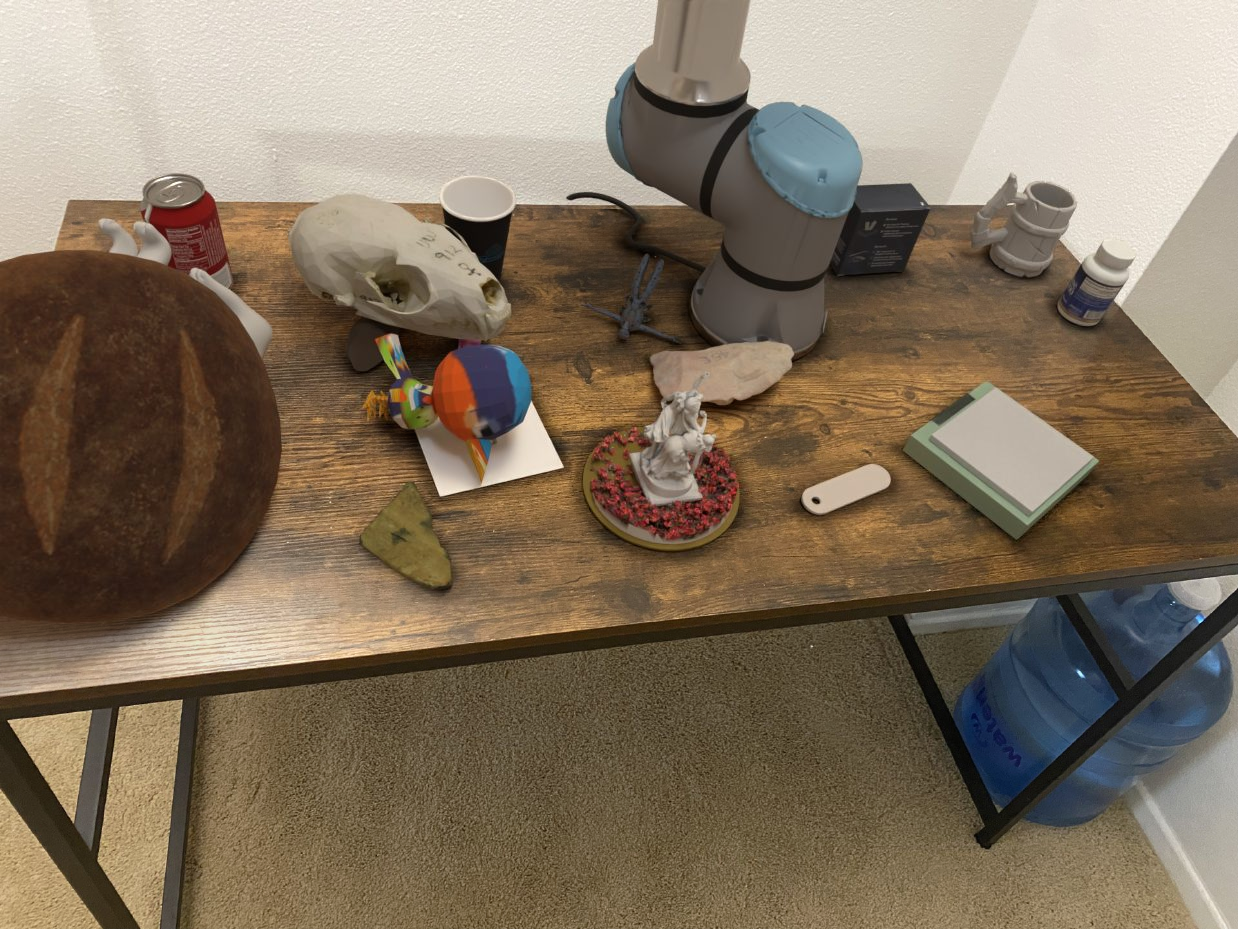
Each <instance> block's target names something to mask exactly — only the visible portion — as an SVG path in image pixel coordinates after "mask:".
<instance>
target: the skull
mask: <svg viewBox="0 0 1238 929" xmlns="http://www.w3.org/2000/svg"><path fill="white" fill-rule="evenodd" d="M445 226H446V227H448V226H447V225H445V223H442V222H439V221H436V222H431V219H430V217H426V218H424V219H422V221H421V220H419V219H418V218H417V217H416V216H415V215H414V214H412V213H411V212H409V211H408V210H406V209H404V207H402V206H401V205H399V204H396V203H392V202H388V201H384V200H380V199H377V198H374V197H370V196H367V195H365V194H358V193H343V194H342V193H341V194H335V195H333V196H331V197H329V198H327V199H324V200H323V201H321V202H319V203H317V204H315V205H313V206H308V207H307V208H305V209H304V210H302V211H301V212H300V213H299V214H298V215H297V217H296V219H295V221H294V224H293V225H292V227H291V228H290V230H289V232H288V243H289V247H290V250H291V256H292V261H293V265H294V267H295V268H296V270H297V272H298V273H299V275H300V276H301V278H302V280H303V281H304V283H305V284H306V286H307V288H308V291H309V292H311V293H312V294H313V295H315V296H316V297H318V298H319V299H321V300H323V301H325V302H329V301H334V302H335V304H336V306H343V307H353V308H354V309H356V310H355V315H356V316H359V317H361V316H362V317H366V318H369V319H373V320H376V321H378V322H381V323H384V324H387V325H392V326H397V327H400V329H401V328H402V329H406V330H411V331H415V332H418V333H423V334H426V335H430V336H437V337H445V338H451V339H458V340H459V339H473V340H481V341H485V342H487V341H488V340H491V339H494V338H497V337H498V336H499V335H500V334H502V333H503V331H504V329H505V328H506V326H507V323H508V322H509V320H510V318H511V316H512V304H511V303H509V301H508V298H507V296H506V292H505V288H504V287H503V286H502V284H501V283H500V281H499V282H498V280H497V279H496V278H495V276H494V275H493V274H492V273H491V272H490V271H489V270H488V269H487V268H486V267H485V266H483V265H482V264H481V263H480V262H479V260H478V258H477V256H476V254H475V253H473V252H471V250H470V249H469V247H468V245H467V243H466V242H465V240H464V239H463V238H462V237H461V236H460V235H459V234H458V233H457V232H456V231H455V230H453V229H452V228H450V227H448V228H450V229H452V230H453V232H454V233H455V234H456V235H457V236H458V237H459V238H460V239H461V241H459V240H458V239H457V238H456V237H455V236H453V235H452V234H451V233H450V232H449V231H448V230H447V229H446V228H445ZM461 242H462V243H461ZM381 292H383V293H387V292H392V294H390V295H391V297H392V299H393V302H392V301H391V298H390V297H385V296H383V294H382V293H381ZM398 293H400V294H399V297H400V300H403V302H401V303H399V304H397V301H396V300H395V299H396V298H397V296H398Z"/></svg>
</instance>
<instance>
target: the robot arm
mask: <svg viewBox="0 0 1238 929" xmlns="http://www.w3.org/2000/svg"><path fill="white" fill-rule="evenodd" d="M751 1H752V0H657V4H656V5H657V6H656V13H655V14H656V15H655V21H654V22H655V24H654V31H653V40H652V44H650V45H649V46H648V47H646V48H644V49H643V50H642V51H640V53H639V54H638V55H637V57H636V60H635V62H633V63H632V64H630V65H629V66H627V68H626V69H625V70H624V72H623V73H622V74H621V75H620V77H619V78H618V79H617V82H616V84H615V86H614V88H613V89H614V92H615V93H614V96H613V97H611V98H610V99H609V102H608V106H607V111H606V115H605V139H606V145H607V149H608V151H609V154H610V156H611V158H612V159H613V161H614V163H615V164H616V165H617V166H618V167H619V168H620V169H621V170H623V171H624V172H626V173H627V174H629V175H630V176H632V177H634V179H635V180H636V181H638V182H641V183H642V184H643V185H644V186H646V187H650V188H654V189H656V190H658V191H659V192H661V193H663V194H664V195H665V194H666V195H667V196H669V197H671V198H673V199H675V200H676V201H678V202H680V203H682V204H683V205H685V206H687V207H689V208H691V209H693V210H695V211H697V212H698V213H701V214H702V215H704V216H706V217H708V218H710V219H712V220H714V221H715V222H717V223H719V224H721V225H722V226H724V232H723V236H722V239H721V240H722V241H721V244H720V247H719V249H718V250H717V252H716V254H715V255H714V256H713V258H712V259H711V260H710V262H709V264H708V265H707V266H704V265H701V264H699V263H697V262H694V261H693V260H690V259H688V258H686V257H682V256H681V255H678V254H676V253H673V252H671V251H668V250H666V249H664V248H660V247H658V246H655V245H650V244H643V243H640V242H637V241H635V240H634V239H633V236H634V235H635V233H636V232H637V231H638V230H639V229H640V228H641V226H642V224H643V218H642V216H641V215H640V214H639V212H638V211H637V210H635V209H634V208H633V207H632V206H630V205H629V204H627V203H626V202H624V201H622V200H620V199H618V198H615V197H614V196H611V195H608V194H604V193H600V192H596V191H595V192H593V191H580V192H578V191H577V192H574V193H570V194H568V195H567V196H566V197H565V199H566V200H567V201H574V200H578V199H595V200H601V201H604V202H607V203H609V204H613V205H614V206H617V207H619V208H620V209H622V210H624V211H625V212H627V213H628V214H629V215H631V216H632V218H634V220H635V223H634V224H633V226H631V227H630V228H629V230H628V231H627V232H626V234H625V240H626V243H627V245H628V246H630V247H631V248H633V249H636V250H639V251H644V252H650V253H653V254H656V255H659V256H663V257H664V258H667V259H670V260H672V261H674V262H677V263H679V264H681V265H683V266H686V267H688V268H691V269H693V270H695V271H697V272H699V273H701V275H700V276H699V278H698V279H697V280H696V283H695V285H694V286H693V290H692V293H691V296H690V301H689V310H688V311H689V317H690V319H691V323H692V325H693V326H694V327H695V329H696V331H697V332H698V333H699V334H700V335H701V336H702V337H703V339H704V340H706V341H707V342H708V343H709V344H711V345H712V346H713V347H717V346H721V345H725V344H732V343H744V342H750V343H751V342H754V343H755V342H765V341H770V342H777V343H782V344H787V345H789V346H790V347H791V348H792V351H793V352H794V356H793V357H792V358H791V362H792V361H796V360H798V359H800V358H803V357H805V356H806V355H808V354H810V352H812V351H813V349H814V348H816V346H817V344H818V343H819V341H820V338H821V335H822V334H824V333H825V327H826V323H827V318H828V310H825V277H826V274H827V272H828V268H829V266H830V261H831V258H832V255H833V253H834V250H835V247H836V245H837V242H838V239H839V237H840V234H841V231H842V229H843V226H844V223H845V221H846V218H847V215H848V213H849V211H850V209H851V208H852V206H853V203H854V200H855V195H856V188H857V185H858V184H859V183H860V182H859V181H860V179H861V175H862V171H863V163H864V162H863V155H862V152H861V151H860V148H859V145H858V142H857V140H856V138H855V137H854V136H853V134H852V133H851V131H849V130H848V128H847V127H846V126H844V125H843V124H842V123H841V122H840V121H838V120H837V119H836V118H834V117H833V116H831V115H829V114H827V113H825V112H824V111H822V110H821V109H818V108H815V107H812V106H811V105H807V104H801V105H800V106H798V105H797V104H796V103H795V102H793V101H777V102H772V103H768V104H766V105H764V106H762V107H761V108H760V109H759V108H757V107H755V106H753V105H751V104H749V103H748V95H749V90H750V85H751V78H752V77H751V75H752V74H751V71H750V68H749V67H748V66H747V65H748V64H746V62H745V61H744V59H743V58H742V57H741V53H742V48H743V42H744V39H745V38H744V37H745V34H746V33H745V32H746V28H747V22H748V17H749V12H750V7H751Z"/></svg>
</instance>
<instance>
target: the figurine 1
mask: <svg viewBox="0 0 1238 929" xmlns="http://www.w3.org/2000/svg"><path fill="white" fill-rule="evenodd" d="M381 293H382V294H383V296H385V297H390V298H391V301H392V302H393V299H392V297H391V295H390V294H392V292H387V293H383V292H381ZM399 294H400V293H398V296H397V298H396V299H395V300H396V301H397V304H399V303H401V302H403V300H400V297H399ZM400 329H401V327H397V326H392V325H387V324H384V323H381V322H378V321H376V320H373V319H369V318H366V317H362V316H359V318H357V320H355V321H354V322H353V323H352V325H351V326H350V328H349V331H348V335H347V340H346V343H345V344H346V345H345V354H346V357H347V359H348V360H349V361H350V362H351V364H352V367H353V369H355V371H359V372H367V371H369V370H370V369H372V368H374V367H376V366H377V365H378V364H380V363H381V362H382V361H383V360H384V359H383V356H382V354H381V352H380V349H379V347H378V345H377V343H376V340H375V339H377V338H379V337H382V336H385V335H388V334H395V335H398V336H399V335H400Z"/></svg>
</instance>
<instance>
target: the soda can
mask: <svg viewBox="0 0 1238 929" xmlns="http://www.w3.org/2000/svg"><path fill="white" fill-rule="evenodd" d="M141 191H142V193H141V194H142V196H143V198H142V200H141V202H140V204H139V211H140V215H141V218H142V222H145V223H147V224H151V225H152V226H153V227H154V228H155V229H156V230H157V231H158V232H159V233H160V234H161V235H162V236H163V237H164V238H165V239H166V240H167V241H168V243H169V245H170V247H171V259H170V261H169V263H168V265H167V266H169V267H172V268H174V269H176V270H179V271H181V272H184V273H186V274H188V275H189V274H190V271H191V269H192V268H198V269H201V270H203V271H205V272H206V273H207V274H208V275H209V276H210V277H212V278H213V279H214V280H215V281H217V282H218V283H220V284H221V285H223V286H225V287H226V288H228V289H229V290H231V289H232V288H233V285H234V276H233V272H232V268H231V263H230V259H229V255H228V251H227V246H226V242H225V238H224V234H223V229H222V225H221V221H220V217H219V212H218V208H217V204H216V201H215V198H214V196H213V195H212V194H211V193H210V192H209V191H208V190H207V189H206V186H205V184H204V183H203V181H202V180H201V179H200V178H198V177H196V176H194V175H192V174H188V173H179V172H174V173H165V174H161V175H158V176H155V177H153V178H151V179H150V180H148V181H147V182H146V183H145V184H144V185H143V187H142V190H141Z"/></svg>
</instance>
